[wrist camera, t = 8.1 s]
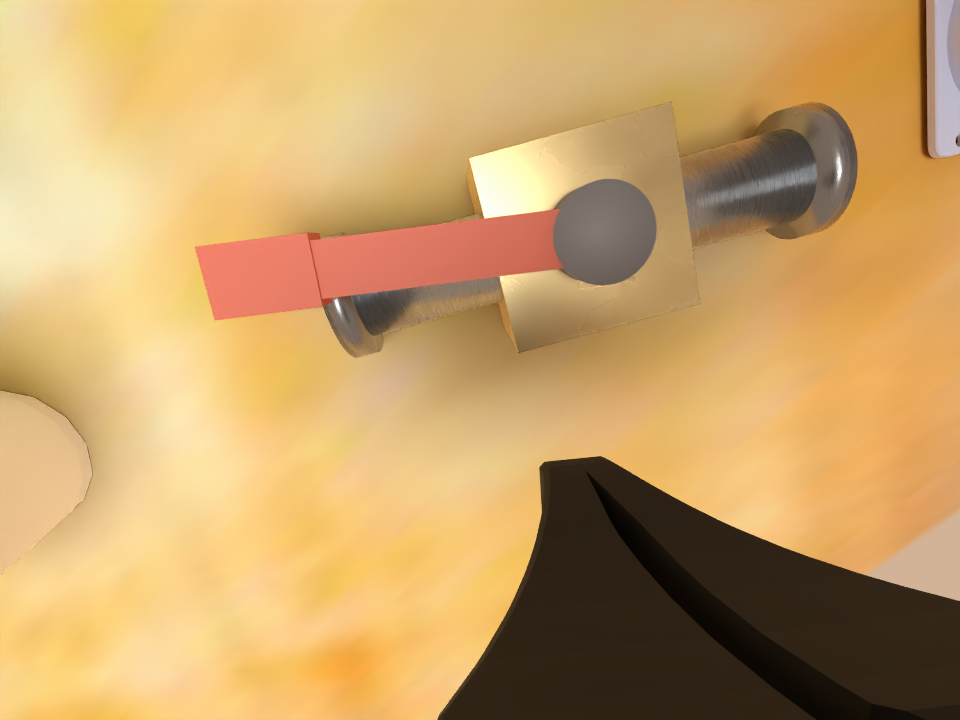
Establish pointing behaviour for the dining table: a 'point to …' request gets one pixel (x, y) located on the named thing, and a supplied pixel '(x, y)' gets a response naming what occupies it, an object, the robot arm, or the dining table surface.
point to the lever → (435, 254)
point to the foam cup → (36, 473)
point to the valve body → (676, 203)
